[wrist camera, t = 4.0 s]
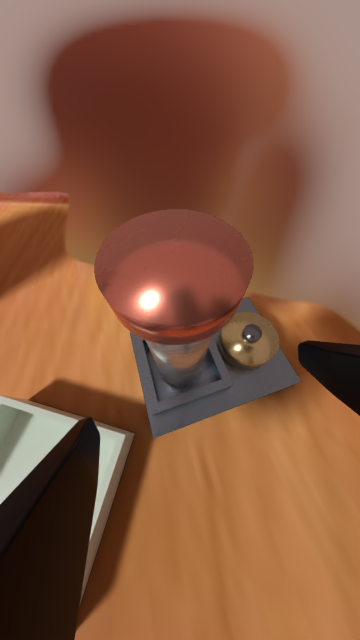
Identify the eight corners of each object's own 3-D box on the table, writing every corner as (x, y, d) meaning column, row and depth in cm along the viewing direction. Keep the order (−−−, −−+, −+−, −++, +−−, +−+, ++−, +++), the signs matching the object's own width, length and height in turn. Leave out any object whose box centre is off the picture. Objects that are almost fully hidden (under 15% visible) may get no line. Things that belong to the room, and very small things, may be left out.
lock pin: (201, 400, 16) (246, 343, 5) (146, 385, 17) (62, 302, 5) (211, 346, 19) (258, 218, 7) (162, 335, 20) (129, 201, 8)
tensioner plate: (294, 384, 18) (321, 374, 15) (155, 437, 16) (147, 441, 13) (245, 303, 23) (256, 281, 19) (132, 337, 21) (122, 320, 17)
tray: (69, 638, 11) (35, 703, 9) (-73, 567, 13) (-139, 605, 10) (134, 433, 16) (125, 435, 14) (27, 399, 18) (0, 395, 15)
